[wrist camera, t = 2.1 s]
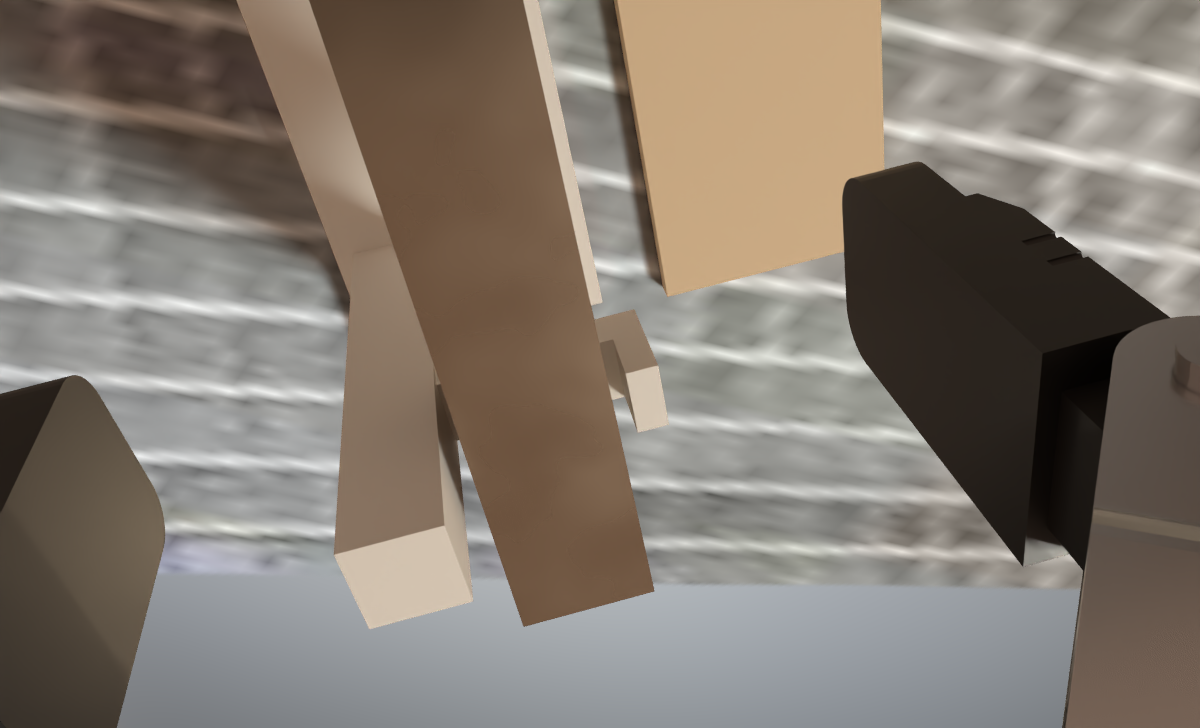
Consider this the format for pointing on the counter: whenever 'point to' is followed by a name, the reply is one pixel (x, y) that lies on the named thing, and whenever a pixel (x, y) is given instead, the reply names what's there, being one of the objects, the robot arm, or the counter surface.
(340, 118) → the rack
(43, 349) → the counter surface
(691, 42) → the tray
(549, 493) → the rail
